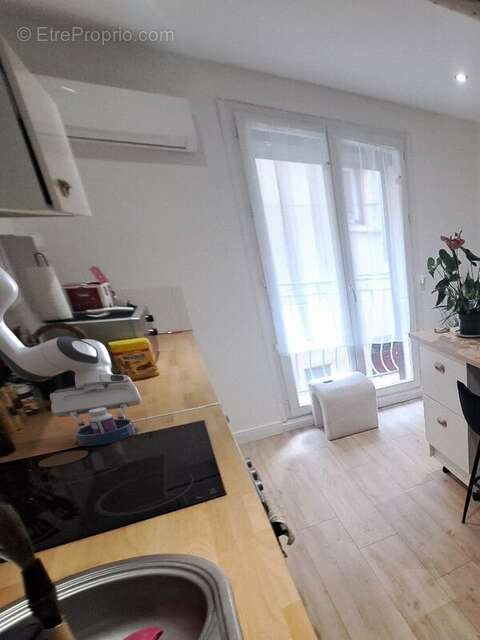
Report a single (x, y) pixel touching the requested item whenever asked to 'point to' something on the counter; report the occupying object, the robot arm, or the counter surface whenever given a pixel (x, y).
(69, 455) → the coaster
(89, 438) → the bowl
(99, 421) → the pill bottle
